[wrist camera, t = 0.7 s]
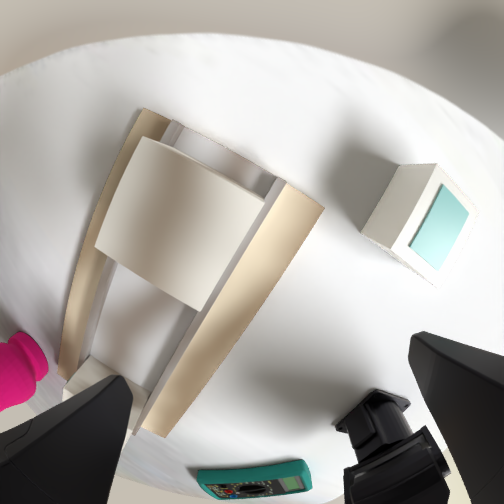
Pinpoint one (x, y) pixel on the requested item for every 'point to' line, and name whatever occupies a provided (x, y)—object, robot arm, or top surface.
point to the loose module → (422, 220)
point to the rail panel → (224, 309)
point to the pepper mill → (20, 369)
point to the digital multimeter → (256, 481)
